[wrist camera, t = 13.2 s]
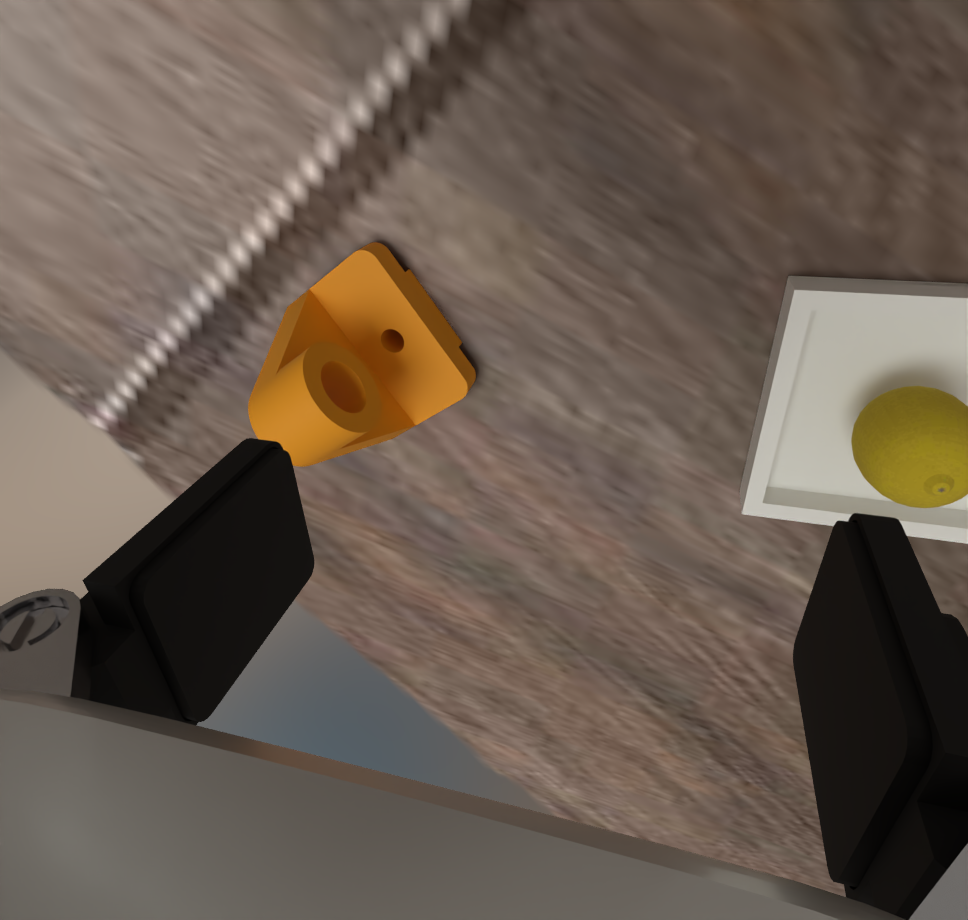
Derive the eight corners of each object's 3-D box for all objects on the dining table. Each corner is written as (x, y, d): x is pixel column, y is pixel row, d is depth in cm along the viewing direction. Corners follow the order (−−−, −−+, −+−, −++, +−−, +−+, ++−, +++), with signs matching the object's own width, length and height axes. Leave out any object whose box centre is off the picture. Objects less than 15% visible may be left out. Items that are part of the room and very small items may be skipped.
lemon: (822, 438, 37) (851, 521, 31) (864, 352, 34) (906, 424, 27) (923, 460, 36) (974, 550, 30) (976, 374, 33) (1046, 453, 27)
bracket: (485, 374, 42) (422, 471, 32) (407, 420, 45) (329, 520, 36) (384, 232, 38) (279, 292, 29) (308, 293, 42) (193, 365, 32)
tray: (788, 275, 34) (794, 289, 32) (1104, 289, 30) (1134, 306, 28) (739, 491, 41) (741, 514, 39) (988, 522, 38) (1005, 548, 36)
